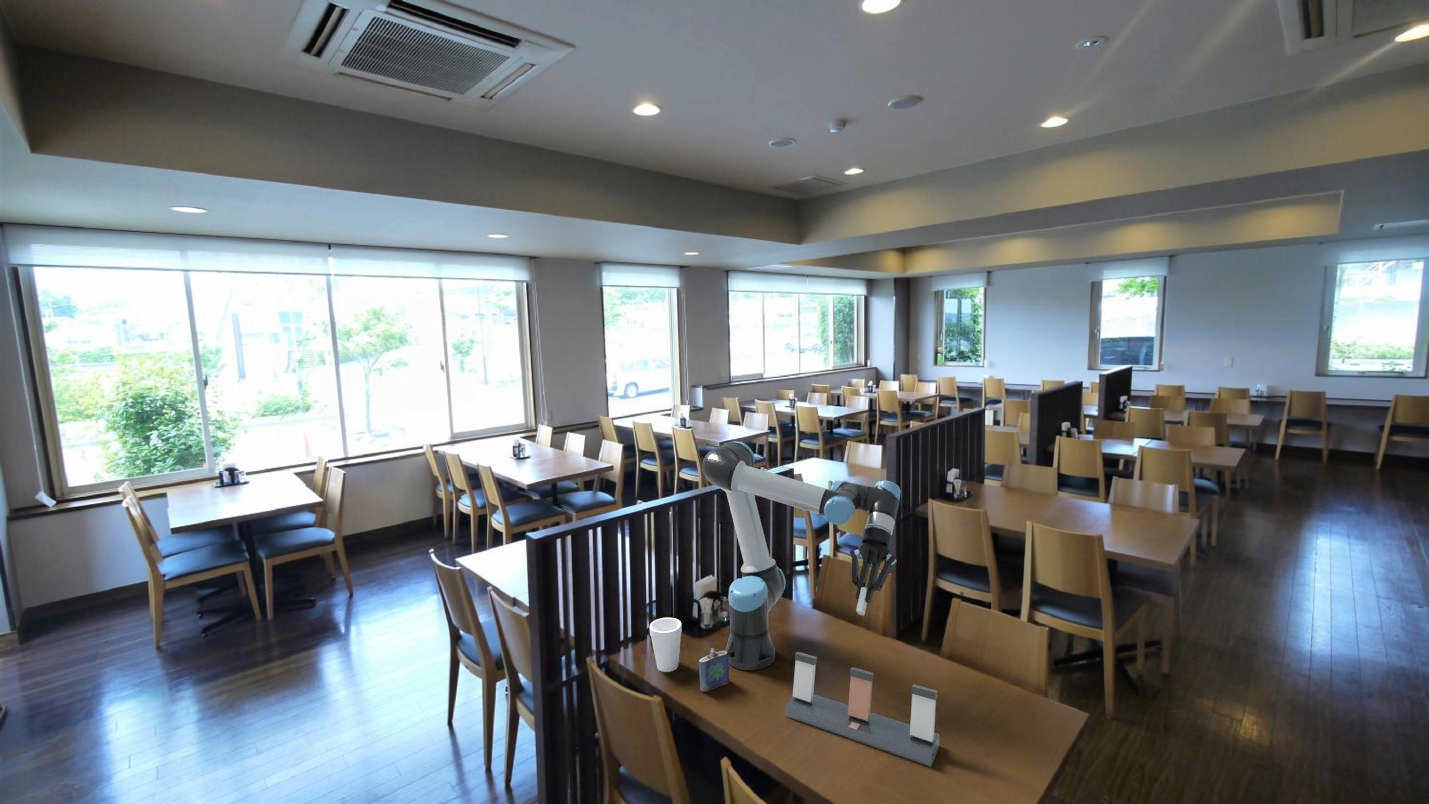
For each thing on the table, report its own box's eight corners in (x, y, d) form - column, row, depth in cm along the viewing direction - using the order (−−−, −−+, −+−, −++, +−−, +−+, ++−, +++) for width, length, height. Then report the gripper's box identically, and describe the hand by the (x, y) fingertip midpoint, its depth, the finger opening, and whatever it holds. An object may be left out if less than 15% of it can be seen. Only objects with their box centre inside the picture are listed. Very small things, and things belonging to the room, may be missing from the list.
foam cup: (678, 676, 171) (676, 633, 170) (648, 673, 173) (645, 631, 172) (686, 658, 181) (684, 618, 179) (657, 656, 182) (655, 616, 181)
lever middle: (849, 712, 147) (852, 666, 148) (870, 719, 144) (874, 672, 145) (846, 715, 145) (850, 668, 146) (868, 722, 142) (871, 674, 143)
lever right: (910, 732, 138) (913, 684, 140) (934, 740, 135) (937, 690, 137) (908, 735, 137) (911, 686, 138) (932, 743, 134) (935, 692, 135)
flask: (702, 693, 162) (701, 656, 161) (697, 688, 165) (696, 652, 164) (731, 682, 167) (729, 646, 166) (725, 677, 170) (724, 642, 169)
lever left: (794, 695, 155) (798, 651, 156) (813, 701, 152) (817, 657, 153) (791, 697, 153) (795, 653, 154) (810, 703, 150) (814, 658, 151)
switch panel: (799, 699, 158) (798, 688, 157) (939, 745, 138) (939, 733, 138) (785, 716, 151) (785, 704, 151) (931, 767, 131) (931, 753, 131)
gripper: (904, 541, 165) (888, 623, 153) (859, 535, 172) (840, 613, 160) (898, 528, 160) (881, 612, 148) (852, 523, 167) (832, 602, 155)
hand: (860, 613), depth 154 cm, fingers closed
